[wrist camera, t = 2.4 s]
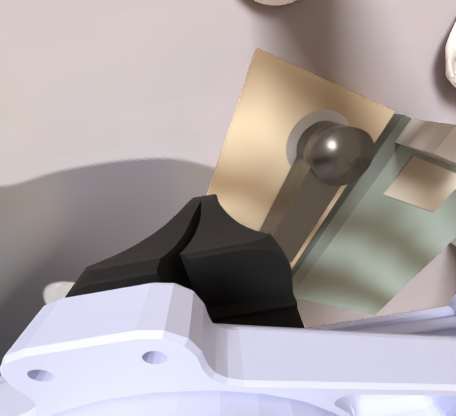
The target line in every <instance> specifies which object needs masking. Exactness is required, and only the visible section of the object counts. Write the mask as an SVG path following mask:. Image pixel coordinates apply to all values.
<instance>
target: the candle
mask: <svg viewBox="0 0 456 416" xmlns="http://www.w3.org/2000/svg"><path fill="white" fill-rule="evenodd" d="M253 1H256V2H258V3H261V4H265V5H275V6H277V5H285V4H289V3H292V2H294V1H297V0H253Z"/></svg>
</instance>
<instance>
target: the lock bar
mask: <svg viewBox="0 0 456 416" xmlns="http://www.w3.org/2000/svg"><path fill="white" fill-rule="evenodd" d="M374 151H375V147H374V142H373V139H372V137H371V136H370V135H369V134H368V133H367V132H366V131H364V130H362V129H359V128H355V127H352V126H348V125H344V124H340V123H336V122H332V121H319V122H316V123H314V124H312V125H311V126H309V127H308V128H307V129H306V130H305V131H304V132H303V133H302V135H301V136H300V138H299V141H298V144H297V157H296V159H295V161H294V163H293V165H292V167H291V169H290V171H289V173H288V175H287V177H286V179H285V181H284V183H283V185H282V186H281V188H280V190H279V192H278V194H277V196H276V198H275V200H274V202H273V204H272V206H271V208H270V210H269V212H268V214H267V216H266V218H265V220H264V222H263V224H262V226H261V228H260V230H259V232H263V233H267V234H270V235H272V237H273V238H274V239H275V240H276V242H277V243H278V244H279V246H280V247H281V248H282V250H283V251H284V253H285V255H286V256H287V258H288V260H289V262H290V264H291V263H292V261H293V260H294V258H295V257H296V255H297V254H298V252H299V250H300V249H301V247H302V246H303V244H304V243H305V241H306V240H307V238H308V236H309V235H310V233H311V232H312V230H313V229H314V227H315V226H316V224H317V223H318V221H319V219H320V218H321V216H322V215H323V213H324V212H325V210H326V209H327V207H328V205H329V204H330V202H331V201H332V199H333V198H334V196H335V195H336V193H337V192H338V190H339V188H340V187H341V186H343V185H347V184H350V183H352V182H354V181H355V180H357V179H358V178H359V177H361V176H362V175H363V174H364V173H365V172H366V170H367V169H368V168H369V166H370V164H371V162H372V160H373V157H374Z"/></svg>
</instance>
